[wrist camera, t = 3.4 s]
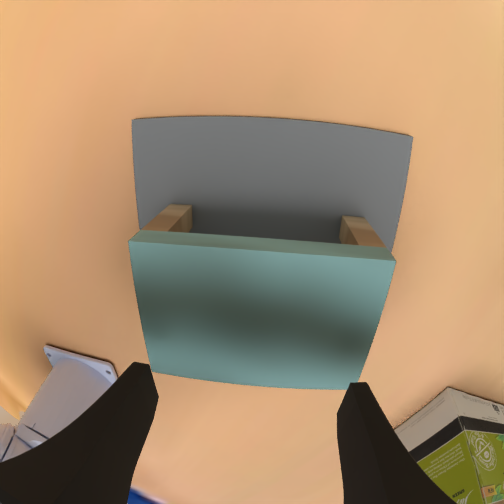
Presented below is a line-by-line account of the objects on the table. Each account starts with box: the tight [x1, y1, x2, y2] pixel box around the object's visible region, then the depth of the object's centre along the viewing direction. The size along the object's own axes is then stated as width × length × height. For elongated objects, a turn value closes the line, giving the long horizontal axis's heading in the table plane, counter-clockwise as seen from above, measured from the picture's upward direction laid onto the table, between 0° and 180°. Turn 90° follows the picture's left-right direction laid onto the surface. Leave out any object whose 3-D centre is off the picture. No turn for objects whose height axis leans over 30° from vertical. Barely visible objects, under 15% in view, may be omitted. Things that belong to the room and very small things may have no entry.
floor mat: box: [132, 116, 413, 253], centre depth 17 cm, size 16×14×1 cm
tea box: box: [394, 387, 504, 504], centre depth 18 cm, size 15×10×15 cm
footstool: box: [128, 204, 396, 390], centre depth 15 cm, size 7×10×5 cm
